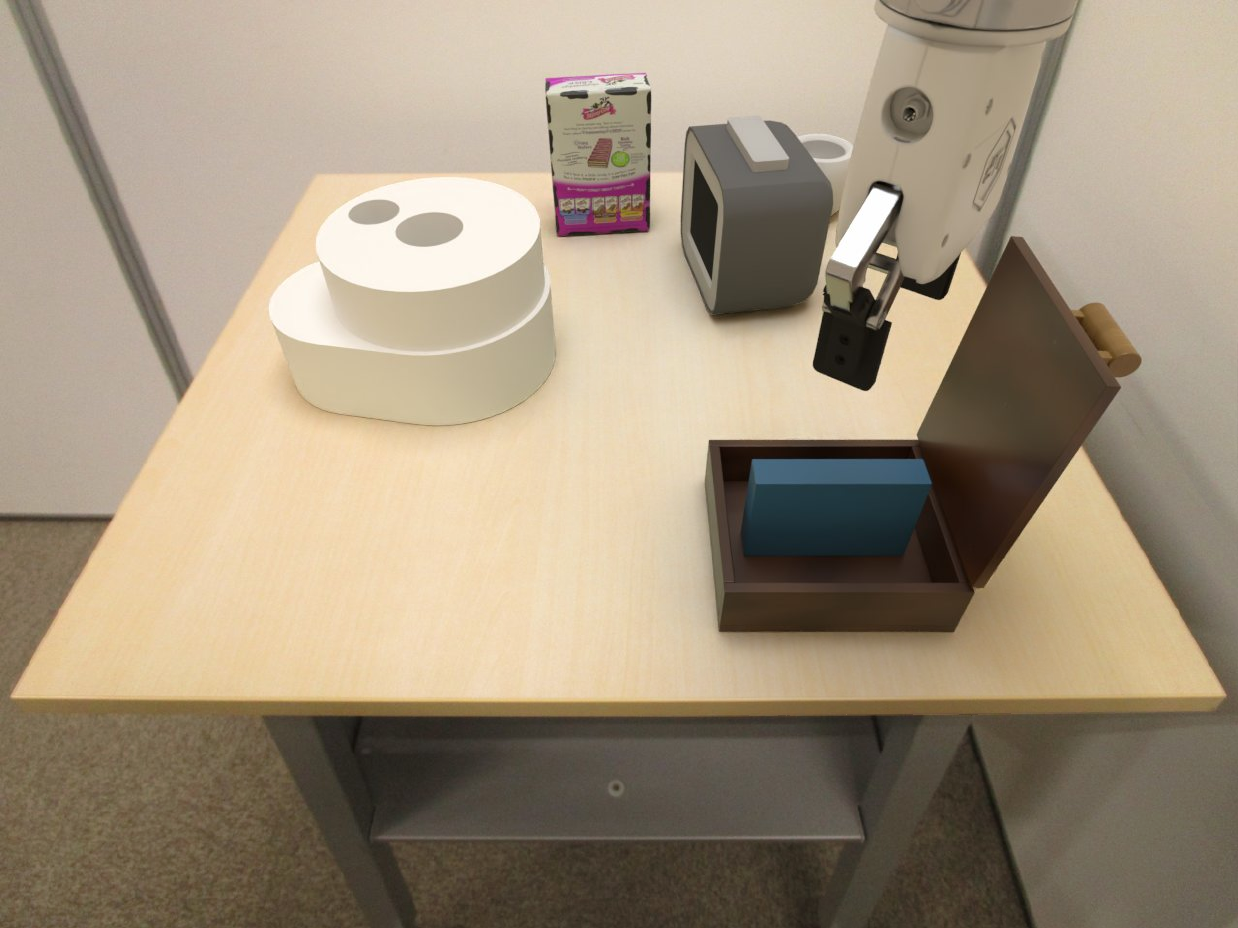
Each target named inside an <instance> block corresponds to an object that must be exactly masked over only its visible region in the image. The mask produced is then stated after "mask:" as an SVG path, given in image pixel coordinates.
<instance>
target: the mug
mask: <svg viewBox="0 0 1238 928" xmlns="http://www.w3.org/2000/svg"><path fill="white" fill-rule="evenodd" d="M797 138H798V139H799V140H800V142H801V143H802V144H803V146H804V147H805V148H806V150H807V151H808V152H809V154H810V155H811V157H812V158H813V159H814V161H815V162H816V163H817V165H818V166H819V167H820V169H821V170H822V171H823V173H824V174H825V176H826V177H827V178H828V180H829V181H830V182H831V186H832V190H833V208H832V213H831V217H832V216H833V215H834V214H836V213H837V212H839V209H840V204H841V199H842V194H843V189H844V184H845V180H846V175H847V171H848V167H849V162H850V158H851V154H852V150H853V146H854V144H852V143H851V142H850V141H848V140H847V139H845V138H842V137H839V136H836V135H833V134H828V133H806V134H802V135H799V136H797Z"/></svg>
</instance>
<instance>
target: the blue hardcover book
mask: <svg viewBox="0 0 1238 928" xmlns="http://www.w3.org/2000/svg"><path fill="white" fill-rule="evenodd" d="M931 485H932V482H931V479H930V476H929V474H928V471H927V468H926V465H925V463H924V460H923V459H752V463H751V470H750V476H749V482H748V488H747V495H746V501H745V507H744V514H743V520H742V526H741V538H742V546H743V554H744V556H903V555H904V553H905V551H906V548H907V546H908V543H909V541H910V538H911V536H912V533H913V531H914V528H915V526H916V523H917V520H918V518H919V515H920V513H921V510H922V508H923V505H924V503H925V500H926V498H927V495H928V493H929V490H930V488H931Z"/></svg>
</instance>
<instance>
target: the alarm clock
mask: <svg viewBox="0 0 1238 928" xmlns="http://www.w3.org/2000/svg"><path fill="white" fill-rule="evenodd" d="M797 137H798V136H797V135H796V134H795V132H794V131H793V130H792V129H791V128H790V127H789V126H788V125H787V123H784V122H781V121H775V120H764V119H763V118H762V116H760V115H750V116H737V117H736V116H735V117H729V118H727V121H726V123H720V124H719V123H718V124H707V125H705V124H704V125H692V126H688V128H687V130H686V132H685V139H684V148H683V149H684V150H683V166H682V167H683V169H682V186H681V203H680V204H681V206H680V240H681V248H682V251H683V255H684V258H685V260H686V262H687V265H688V267H689V269H690V270H689V271H690V272H691V274H692V276H693V279H694V282H695V284H696V286H697V289H698V291H699V294H700V296H701V298H702V302H703V304H704V305H705V308H706V310H707V312H708V313H709V315H711V316H712V315H713V316H714V315H722V314H733V313H742V312H751V311H753V312H754V311H759V310H760V311H762V310H771V309H780V308H790V307H793V306H796V305H799V304H802V303H803V302H805V301H807V300H808V299H809V298H810V297H811V296H812V295H813V294H814V292H815V289H816V288H817V286H818V282H819V278H820V273H821V268H822V262H823V257H824V252H825V249H826V244H827V243H826V242H827V238H828V232H829V227H830V223H831V219H832V218H831V217H832V216H831V213H832V208H833V190H832V186H831V182H830V181H829V180H828V178H827V177H826V176H825V174H824V173H823V171H822V170H821V169H820V167H819V166H818V165H817V163H816V162H815V161H814V159H813V158H812V157H811V155H810V154H809V152H808V151H807V150H806V148H805V147H804V146H803V144H802V143H801V142H800V140H799V139H798V138H797Z"/></svg>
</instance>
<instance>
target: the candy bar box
mask: <svg viewBox="0 0 1238 928" xmlns="http://www.w3.org/2000/svg"><path fill="white" fill-rule="evenodd" d="M544 80H545V82H544V83H545V86H544V87H545V88H544V93H545V109H546V119H547V120H546V121H547V130H548V132H547V133H548V145H549V159H550V170H551V172H550V173H551V183H552V194H553V195H552V196H553V208H554V222H555V231H556V233H555V234H556V235H557V237H569V236H570V237H572V236H585V235H588V236H589V235H605V234H617V233H619V234H620V233H633V232H648V231H650V229H651V161H652V160H651V155H652V153H651V152H652V149H651V148H652V88H651V85H650V82H649V80H648V74H647V73H646V72H638V73H637V72H634V73H611V74H610V73H609V74H593V75H578V76H577V75H576V76H561V77H560V76H559V77H558V76H557V77H546V78H545V79H544Z"/></svg>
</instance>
